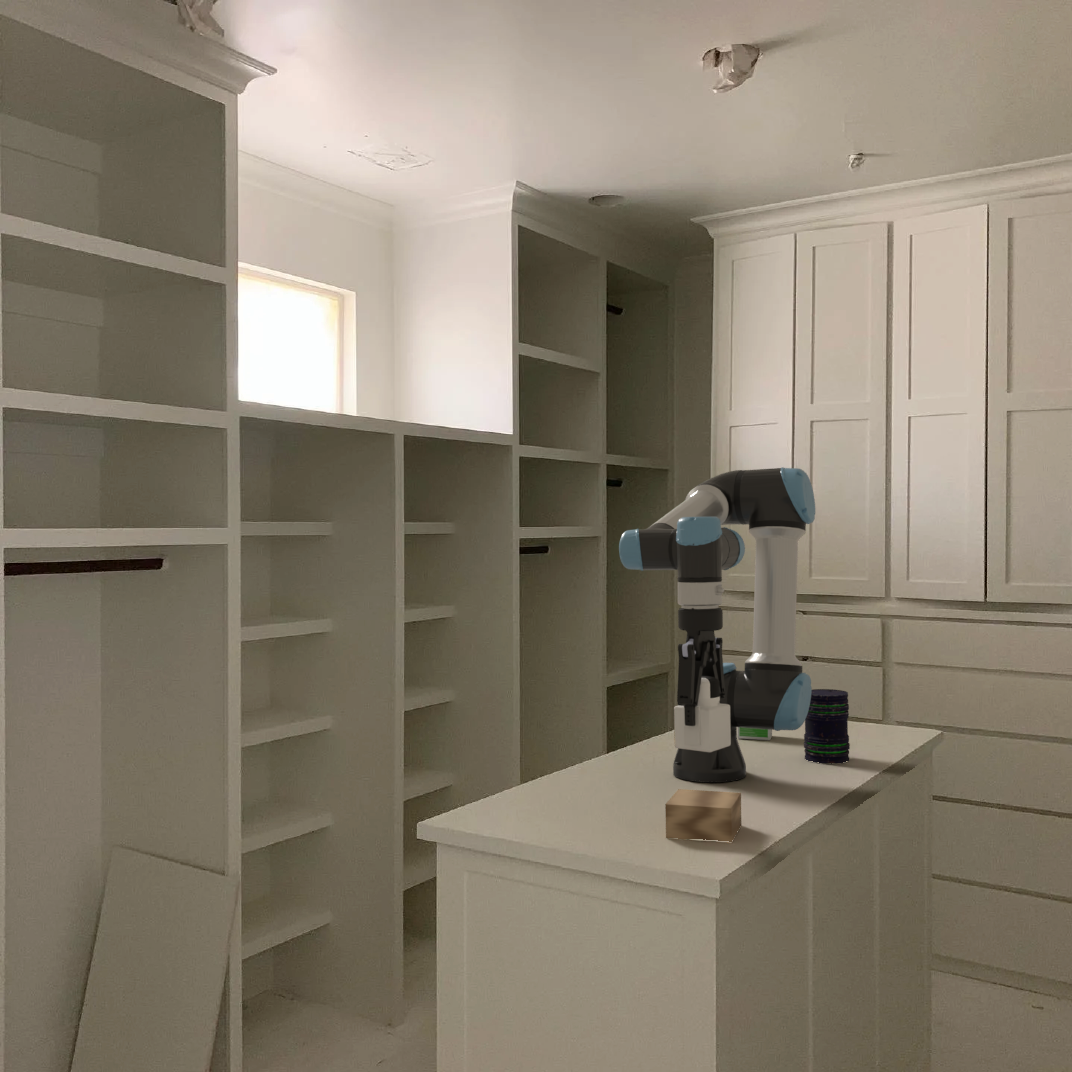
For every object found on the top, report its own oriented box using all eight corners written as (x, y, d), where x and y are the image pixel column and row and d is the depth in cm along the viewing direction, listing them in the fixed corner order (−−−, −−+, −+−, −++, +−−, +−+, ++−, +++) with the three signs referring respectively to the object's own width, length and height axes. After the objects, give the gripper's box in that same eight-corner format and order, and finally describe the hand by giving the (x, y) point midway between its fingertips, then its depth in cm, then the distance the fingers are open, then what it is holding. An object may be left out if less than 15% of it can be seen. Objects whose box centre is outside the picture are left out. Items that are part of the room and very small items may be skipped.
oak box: (666, 839, 180) (665, 804, 180) (679, 822, 190) (678, 789, 190) (731, 844, 176) (731, 808, 176) (741, 827, 187) (740, 792, 187)
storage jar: (841, 766, 232) (840, 696, 232) (797, 761, 237) (796, 693, 237) (855, 757, 240) (854, 690, 240) (813, 753, 246) (811, 687, 245)
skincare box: (736, 739, 263) (735, 675, 263) (739, 734, 270) (738, 672, 270) (771, 740, 261) (770, 676, 261) (773, 735, 267) (772, 673, 267)
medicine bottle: (695, 741, 188) (694, 673, 188) (731, 745, 184) (730, 675, 184) (673, 748, 183) (672, 677, 183) (710, 752, 178) (709, 680, 178)
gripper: (696, 611, 173) (698, 753, 173) (743, 603, 190) (745, 732, 190) (654, 610, 177) (656, 749, 177) (703, 602, 194) (705, 728, 194)
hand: (702, 740), depth 183 cm, fingers closed on medicine bottle, 7 cm apart
